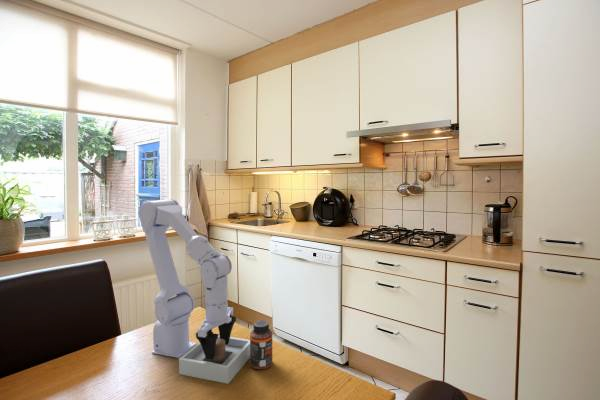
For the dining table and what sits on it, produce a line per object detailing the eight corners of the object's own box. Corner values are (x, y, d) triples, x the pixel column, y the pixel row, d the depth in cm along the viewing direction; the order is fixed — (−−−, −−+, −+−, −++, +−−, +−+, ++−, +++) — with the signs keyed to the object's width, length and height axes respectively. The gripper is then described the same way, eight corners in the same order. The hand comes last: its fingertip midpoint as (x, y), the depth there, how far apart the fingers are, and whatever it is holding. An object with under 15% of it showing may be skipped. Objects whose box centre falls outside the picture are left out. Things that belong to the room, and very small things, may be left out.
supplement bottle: (268, 372, 83) (268, 329, 83) (246, 369, 85) (246, 327, 84) (275, 359, 89) (274, 319, 89) (254, 357, 90) (254, 317, 90)
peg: (207, 366, 86) (206, 344, 86) (215, 358, 90) (215, 337, 89) (220, 369, 85) (220, 347, 84) (228, 360, 89) (228, 339, 88)
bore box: (179, 374, 83) (178, 358, 82) (209, 346, 96) (209, 333, 96) (228, 383, 79) (227, 368, 78) (252, 353, 92) (252, 340, 92)
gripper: (215, 314, 78) (216, 368, 79) (242, 293, 92) (243, 339, 93) (190, 310, 80) (191, 363, 81) (220, 291, 94) (221, 336, 95)
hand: (217, 350), depth 87 cm, fingers open, 7 cm apart
